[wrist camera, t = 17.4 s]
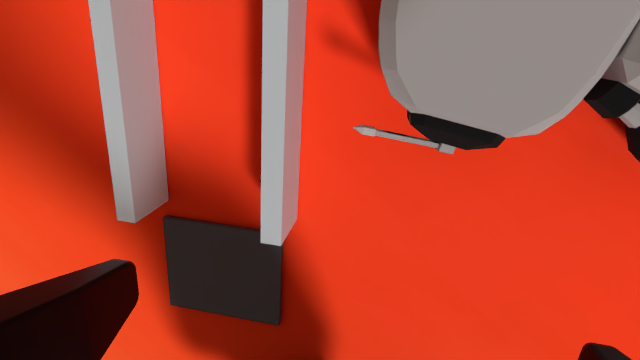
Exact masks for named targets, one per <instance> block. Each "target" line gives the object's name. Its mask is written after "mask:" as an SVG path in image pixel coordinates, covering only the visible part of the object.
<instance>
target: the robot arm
mask: <svg viewBox="0 0 640 360" xmlns="http://www.w3.org/2000/svg"><path fill="white" fill-rule="evenodd" d="M138 296H139V291H138V282H137V274H136V267H135V265H134V263H132V262H131V261H125V260H120V259H113V260H109V261H106V262H103V263H100V264H97V265H94V266H91V267H87V268H84V269H81V270H78V271H75V272H72V273H69V274H65V275H62V276H59V277H56V278H53V279H50V280H47V281H44V282H40V283H37V284H34V285H31V286H28V287H25V288H22V289H18V290H15V291H12V292H9V293H6V294H3V295H0V360H101V358H102V357H103V355H104V354H105V352H106V351H107V349H108V347H109V346H110V344H111V343H112V341H113V340H114V338H115V337H116V335H117V333H118V332H119V330H120V329H121V327H122V326H123V324H124V323H125V321H126V319H127V318H128V316H129V315H130V313H131V312H132V310H133V309H134V307H135V305H136V303H137V301H138ZM578 360H631V359H630V358H629V357H627V356H626V355H624V354H623V353H622V352H620V351H619V350H617V349H616V348H614V347H612V346H608V345H602V344H597V343H587V344H585V345H584V346H583V348H582V350H581V353H580V355H579V358H578Z"/></svg>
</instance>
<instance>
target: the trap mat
mask: <svg viewBox="0 0 640 360" xmlns="http://www.w3.org/2000/svg"><path fill="white" fill-rule="evenodd" d="M163 222H164V234H165V245H166V257H167V268H168V280H169V292H170V303H171V305H174V306H179V307H184V308H190V309H195V310H200V311H205V312H210V313H216V314H221V315H226V316H231V317H237V318H242V319H247V320H252V321H257V322H263V323H268V324H273V325H278V326H279V324H280V314H281V283H282V251H283V244H282V245H281V246H277V245H271V244H264V243H260V239H261V230H257V229H250V228H244V227H237V226H231V225H224V224H217V223H211V222H204V221H198V220H191V219H184V218H178V217H171V216H165V217H164V218H163Z"/></svg>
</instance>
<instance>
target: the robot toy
mask: <svg viewBox="0 0 640 360" xmlns="http://www.w3.org/2000/svg"><path fill="white" fill-rule="evenodd" d="M378 49H379V59H380V65H381V68H382V71H383V74H384V77H385V80H386V83H387V86H388V89H389V92H390V95H392V96H393V97H394V98H395V99H396V100H397V101H398V102H399V103H400V104H402V105H403V106H404V107H405V108H406V109H407V118H408V120H409V122H410V124H411V125H412V126H413V127H414V128H415V129H417V130H418V131H419V132H420V133H421V134H423V135H424V136H426V137H427V138H428V139H430V140H427V139H422V138H418V137H413V136H408V135H403V134H398V133H394V132H389V131H384V130H379V129H375V128H374V127H371V126H367V125H358V126H355V127H353V128H354V129H356V130H357V131H358V132H360V133H361V134H364V135H369V136H375V135H376V136H381V137H385V138H390V139H395V140H400V141H405V142H410V143H415V144H420V145H424V146H429V147H434V148H435V149H437V150H438V151H439V152H444V153H449V154H453V153H454V150H455V148H456V147H457V148H461V149H465V150H471V149H484V148H497V147H498V146H499V145H500V144H501V143H502V142H503V141H504V139H505V138H511V137H519V136H527V135H535V134H539V133H541V132H542V131H544V130H545V129H547V128H548V127H550V126H552V125H553V124H555V123H556V122H558V121H559V120H561V119H562V118H564V117H565V116H566V115H568V114H569V113H570V112H571V111H572V110H573V109H574V108H575V107H576V106H577V105H578V104H579V103H580V102H581V101H582V99H584V100H585V101H586V102H587V103H588V104H589V105H590V106H591V107H592V108H593V109H594V110H595V111H596V112H598V113H599V114H600V115H601V116H602V117H603V118H617V117H619V118H620V119H621V120H622V121H623V122H624V123H625V124H626V136H627V143H628V150H629V151H630V152H631V153H632V154H633V155H634V157H635V158H636V159H637V160H638V161H639V162H640V104H639V103H638V102H639V101H640V0H381V6H380V14H379V41H378Z"/></svg>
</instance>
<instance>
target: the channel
mask: <svg viewBox="0 0 640 360" xmlns="http://www.w3.org/2000/svg"><path fill="white" fill-rule="evenodd" d="M88 2H89V9H90V17H91V25H92V32H93V40H94V47H95V55H96V62H97V70H98V78H99V85H100V93H101V100H102V108H103V116H104V123H105V131H106V138H107V146H108V154H109V161H110V169H111V176H112V184H113V192H114V199H115V207H116V214H117V220H118V221H125V222H131V223H136V222H138V221H139V220H141V219H142V218H144V217H145V216H147V215H148V214H150V213H151V212H152V211H154V210H155V209H157V208H158V207H160V206H161V205H163V204H164V203H166V202H167V201H169V197H168V184H167V171H166V159H165V146H164V134H163V121H162V109H161V96H160V83H159V71H158V58H157V46H156V33H155V20H154V8H153V0H88ZM306 11H307V0H263V27H262V133H261V239H260V243H264V244H271V245H277V246H281V245H282V244H283V242H284V240H285V238H286V237H287V235H288V233H289V232H290V230H291V228H292V227H293V225H294V223H295V222H296V220H297V210H298V188H299V166H300V144H301V121H302V99H303V77H304V55H305V33H306Z"/></svg>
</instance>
